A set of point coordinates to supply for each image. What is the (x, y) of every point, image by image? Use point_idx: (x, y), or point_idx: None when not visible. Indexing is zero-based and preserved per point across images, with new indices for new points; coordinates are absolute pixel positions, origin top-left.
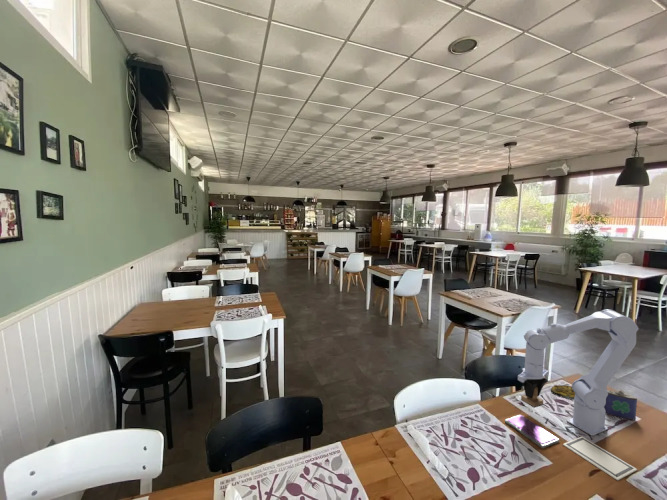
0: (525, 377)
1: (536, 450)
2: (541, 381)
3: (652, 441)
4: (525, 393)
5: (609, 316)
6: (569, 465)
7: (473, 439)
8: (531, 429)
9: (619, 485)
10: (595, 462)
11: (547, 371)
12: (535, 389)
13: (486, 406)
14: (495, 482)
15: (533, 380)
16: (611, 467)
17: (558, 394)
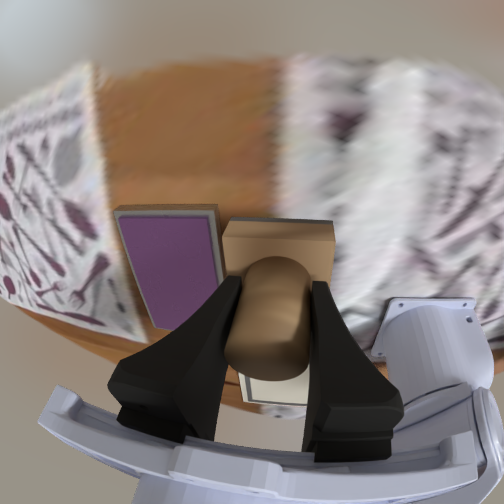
0: (87, 454)
1: (136, 315)
2: (302, 448)
3: None
4: (220, 286)
5: None
6: None
7: (16, 230)
8: (171, 288)
9: (234, 400)
10: (247, 383)
11: (429, 496)
12: (250, 375)
13: (112, 89)
14: (32, 308)
15: (313, 390)
16: (267, 395)
17: None
